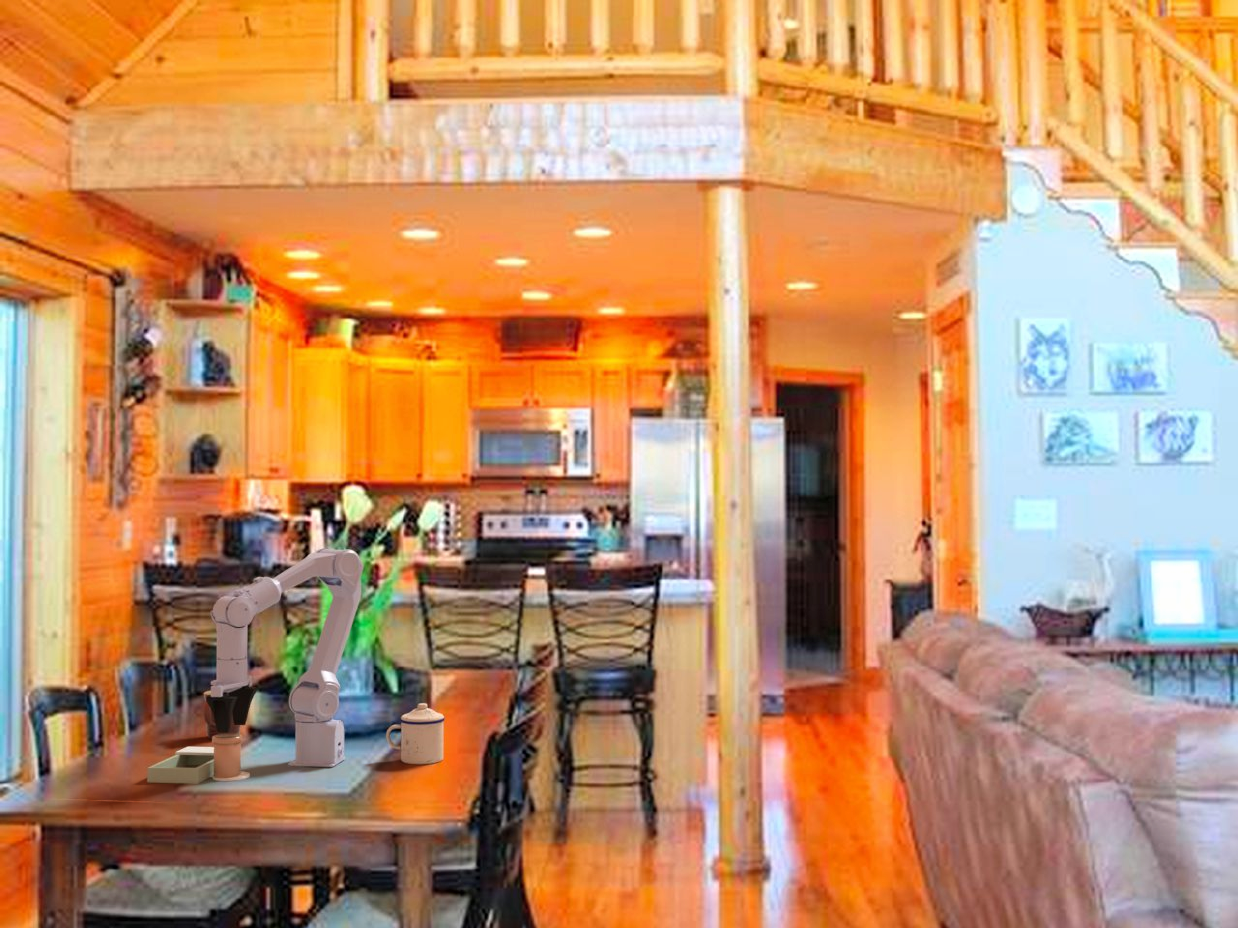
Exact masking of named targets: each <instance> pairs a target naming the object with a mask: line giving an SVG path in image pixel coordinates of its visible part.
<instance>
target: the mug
mask: <svg viewBox="0 0 1238 928" xmlns="http://www.w3.org/2000/svg"><path fill="white" fill-rule="evenodd" d="M208 695H211V690H207V691H205V692H203V697H204V700H205V701H204V703H203V716H204V721H205V723H206V724H205V729H206V734H207V735H206V736H207V737H208V739H211V740H212V737H213V736H215V735H219V734H240V733H241V727H242V725H234V722H233V715H232V717H231V726H230V730H229V732H228V733H218V732H217V729H216V725H215V720H214V717H213V713H212V711H211V709H210V707H209V705H208V703H207V702H206V696H208Z"/></svg>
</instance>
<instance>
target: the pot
mask: <svg viewBox="0 0 1238 928" xmlns="http://www.w3.org/2000/svg"><path fill="white" fill-rule="evenodd" d="M242 742H243V734H241V733H239V734H219V735H215V736H213V737H212V739H211V743H213V747H214V777H217V778H230V777H236V776H239V775H241V771H242V769H241V767H242V766H241V765H242V761H241V759H242V757H241V756H242Z"/></svg>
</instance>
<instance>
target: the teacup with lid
mask: <svg viewBox="0 0 1238 928" xmlns="http://www.w3.org/2000/svg"><path fill="white" fill-rule="evenodd" d="M445 719H446V718H445V716H444V714H443V713H440V712H436V711H435V710H433V709H432V708H430V707H429V708H428V703H426V702H423V703H422V702H421V703H418V704H417V708H414V709H412V710H411V711H410V712H408V713H405V714H403V715H401V717H400V719H399V721H400V722H401V723H400V724H393V725H391V726H390V727H389V728H388V729H387V730H386V736H385V737H386V738H385V739H386V740H387V741H386V742H387V743H388V745H389V746H390V747H391V748H393V749H395V750H400V752H401V753H400V759H401V762H403V763H404V764H409V765H431V764H436V763H440V762H441V761H443V760H444V721H445ZM396 729H401V730H400V731H401V735H400V736H401V743H400V745H397V744H395V743H394V742H393V741H392V739H391V732H392V730H396Z"/></svg>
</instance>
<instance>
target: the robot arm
mask: <svg viewBox="0 0 1238 928" xmlns="http://www.w3.org/2000/svg"><path fill="white" fill-rule="evenodd" d="M364 567H365V565H364V564H363V562H362V560H361V557H360V556H359V554H358V553H357V552H356V551H354V550H352V549H334V548H332V549H330V548H327V547H326V548H320V549H318V550H317V551H315V552H312V553H309V554H308V555H307V556H306V557H305V558H303V559H302V560H300V561H299V562H297V563H296V564H294V565H292V566H290V567H289V568H288V569H286V570H284V571H282V572H281V573H280V574H278V575H276V576H275V577H273V578H271V577H268V576H264V577H262V576H258V577H255V578H254V579H253V583H251V584H249V585H247V586H246V587H244V588H237V589H235V590H234V591H233V594H232V596H229V595H225V596H221V597H220V598H218V599H217V600H216V602H215V603H214V604H213V608H212V610H210V617H211V619H212V621H213V622H214V624H215V629H216V630H215V631H216V679H214V680H211V681H210V685H211V686H210V691H211V695H208V696H206V701H205V702H207V703H208V705H209V707H210V709H211V711H212V713H213V717H214V720H215V725H216V729H217V732H218V733H228V732H229V730H230V726H231V717H232V715H233V722H234V725H241V726H245V725H246V723H247V721H248V717H249V712H250V707H251V705H252V702H253V699H254V697H255V695H256V693H257V691H258V688H257V687H256V686H252V685H253V676H252V675H248V625H250V624H251V622H252V621H253V618H254V616H256V615H258V614H260V613H261V612H264V611H265V610H266V609H268V608H270V607H272V606H273V605H275V604H277V603H278V602H279V601H280V600H281V596H282V593H284V592H286V591H288V590H290V589H292V588H294V587H296V586H298V585H300V584H303V583H304V582H306V581H308V580H310V579H312V578H314V577H317V578H318V580H320V581H321V582H322V583H323V585H325V586H326V587H327V588H328V590H329V592H330V594H331V597H332V599H331V602H330V605H329V608H328V611H327V615H326V617H325V620H324V623H323V627H322V629H321V632H320V636H319V639H318V642H317V645H316V647H315V651H314V654H313V657H312V660H311V664H310V666H309V669H308V670H307V671H306V672H304V673H302V675H300V676H299V680H298V682H297V684H296V686H294V688H293V689H292V691H291V692H290V694H289V697H288V705H289V708H290V710H291V711H292V713H293V714H294V719H295V735H294V736H295V737H294V738H295V743H294V744H295V745H294V746H295V754H294V755H295V758H294V760H292V761H290V762H288V763H287V766H291V767H316V768H317V767H326V768H327V767H329V768H333V767H335V766H337V765H338V764H339V763H341V762H342V761H344V760H346V757H345V725H344V723H343V720H339V719H337V720H336V719H334V716H335V714H337V711H338V710H339V705H340V699H339V697H340V695H339V694H340V691H341V685H340V682H339V681H338V679H337V677H336V676H337V672H338V669H339V667H340V662H341V660H342V656H343V655H344V654H343V653H344V651H345V647H346V645H347V641H348V637H349V634H350V631H351V629H352V625H353V622H354V620H355V617H356V612H357V610H358V606H359V603H360V600H361V597H362V580H361V579H362V578H361V577H362V574H363V570H364Z"/></svg>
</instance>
